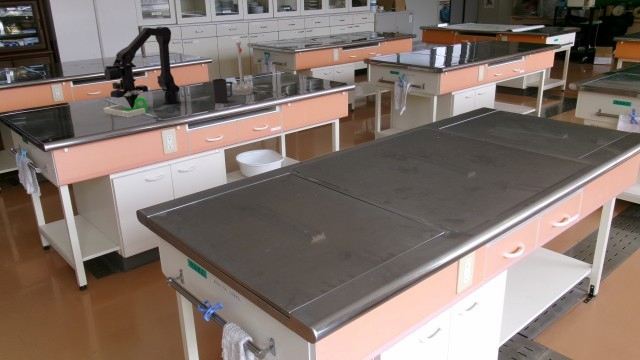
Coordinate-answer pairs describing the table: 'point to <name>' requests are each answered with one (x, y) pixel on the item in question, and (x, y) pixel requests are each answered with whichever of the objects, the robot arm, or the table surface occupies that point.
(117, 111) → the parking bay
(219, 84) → the mug
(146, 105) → the mechanical part
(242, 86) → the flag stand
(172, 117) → the table surface
